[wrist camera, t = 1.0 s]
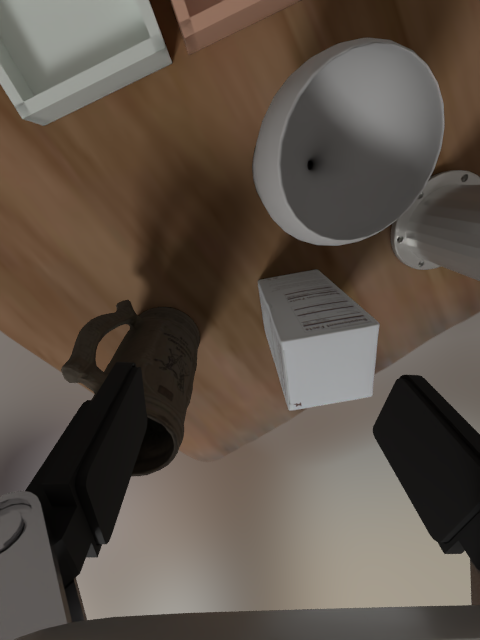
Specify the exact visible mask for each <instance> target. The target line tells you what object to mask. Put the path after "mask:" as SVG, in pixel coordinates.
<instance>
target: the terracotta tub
mask: <svg viewBox="0 0 480 640" xmlns="http://www.w3.org/2000/svg"><path fill="white" fill-rule="evenodd" d="M299 1H301V0H170V2H171V5H172V8H173V11H174V14H175V17H176V20H177V23H178V25H179V28H180V31H181V34H182V37H183V40H184V43H185V46H186V49H187V52H188V55H190V54H192V53H194V52H196V51H198V50H200V49H203V48H205V47H207V46H209V45H211V44H213V43H215V42H217V41H219V40H221V39H223V38H225V37H227V36H229V35H231V34H233V33H235V32H237V31H239V30H241V29H243V28H246V27H248V26H250V25H252V24H254V23H256V22H258V21H260V20H262V19H264V18H266V17H268V16H270V15H272V14H274V13H276V12H278V11H280V10H282V9H284V8H286V7H289V6H291V5H293V4H295V3H297V2H299Z"/></svg>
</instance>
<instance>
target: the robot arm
mask: <svg viewBox="0 0 480 640" xmlns="http://www.w3.org/2000/svg"><path fill="white" fill-rule="evenodd" d="M391 245H392V249H393V251H394V253H395V255H396V257H397V258H398V259H399V260H400V261H401V262H402V263H404V264H405V265H407V266H410V267H412V268H415V269H420V270H428V269H433V268H437V267H440V266H442V267H445V268H447V269H450V270H452V271H455V272H458V273H460V274H463V275H465V276H468V277H471V278H473V279H476V280H478V281H480V177H479V176H478V175H476V174H474V173H472V172H470V171H464V170H451V171H446V172H441V173H439V174H436V175H433V176H431V177H430V178H429V180H428V182H427V184H426V186H425V188H424V189H423V191H422V192H421V193H420V195H419V196H418V198H417V199H416V200H415V202H414V203H413V204H412V206H411V207H410V208H409V209H408V210H407V211H406V212H405V213H404V214H403V215H402V216H401V217H400V218H398V219H397V220H396V221H395V222H394V223H393V224H392V229H391ZM146 429H147V412H146V404H145V395H144V387H143V379H142V370H141V367H136V364H135V363H134V362H116V363H115V365H114V366H113V368H112V370H111V371H110V373H109V374H108V376H107V378H106V379H105V381H104V383H103V384H102V386H101V387H100V389H99V391H98V392H97V394H96V395H95V397H94V399H93V400H87V401H86V402H84V403H83V404H82V406H81V407H80V408H79V410H78V411H77V413H76V414H75V416H74V417H73V419H72V420H71V422H70V423H69V425H68V427H67V428H66V430H65V431H64V433H63V434H62V436H61V437H60V439H59V440H58V442H57V443H56V445H55V446H54V448H53V450H52V451H51V452H50V454H49V456H48V457H47V459H46V460H45V462H44V464H43V465H42V466H41V468H40V469H39V471H38V472H37V474H36V475H35V477H34V478H33V480H32V482H31V483H30V484H29V486H28V488H27V489H26V491H17V492H12V493H8V494H5V495H3V496H1V497H0V640H480V434H479V433H478V432H477V431H476V430H475V429H474V428H473V427H472V426H471V425H470V424H468V422H467V421H466V420H465V419H464V418H463V417H462V416H461V415H460V414H459V413H458V412H457V411H456V410H455V409H454V408H453V407H452V406H451V405H450V404H449V403H448V402H447V401H446V400H445V399H444V398H443V397H442V396H441V395H440V394H439V393H438V392H437V391H436V390H435V389H434V388H433V387H432V386H431V385H430V384H429V383H428V382H427V381H426V380H425V379H424V378H423V377H422V376H418V375H402V376H401V377H400V378H399V379H397V380H396V382H395V384H394V386H393V388H392V390H391V392H390V394H389V396H388V398H387V400H386V402H385V404H384V406H383V408H382V410H381V412H380V414H379V416H378V418H377V420H376V422H375V425H374V427H373V434H374V436H375V439H376V440H377V442H378V444H379V446H380V447H381V449H382V451H383V453H384V454H385V456H386V458H387V460H388V462H389V463H390V465H391V467H392V469H393V470H394V472H395V474H396V476H397V477H398V479H399V481H400V482H401V484H402V486H403V488H404V490H405V492H406V493H407V495H408V497H409V498H410V500H411V502H412V504H413V506H414V507H415V509H416V511H417V513H418V514H419V516H420V518H421V520H422V522H423V523H424V525H425V527H426V529H427V530H428V532H429V534H430V535H431V536H432V538H433V539H434V540H436V541H437V542H438V543H439V545H440V547H441V549H442V550H443V552H444V553H445V554H461V553H463V552H464V551H466V553H467V554H468V556H469V557H470V571H471V602H472V605H468V606H418V607H384V608H383V607H381V608H380V607H379V608H341V609H307V610H306V609H303V610H270V611H239V612H207V613H183V614H162V615H144V616H126V617H111V618H104V619H94V620H87V618H86V614H85V610H84V607H83V603H82V599H81V595H80V592H79V588H78V584H77V580H76V576H77V575H79V574H80V571H81V569H82V566H83V564H84V561H85V558H86V557H98V554H99V551H100V549H101V546H102V544H107V543H108V542H109V540H110V537H111V535H112V532H113V529H114V526H115V523H116V520H117V517H118V514H119V511H120V508H121V505H122V502H123V499H124V496H125V493H126V490H127V487H128V484H129V480H130V477H131V475H132V472H133V469H134V466H135V463H136V460H137V457H138V454H139V451H140V447H141V444H142V441H143V438H144V435H145V432H146Z"/></svg>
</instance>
